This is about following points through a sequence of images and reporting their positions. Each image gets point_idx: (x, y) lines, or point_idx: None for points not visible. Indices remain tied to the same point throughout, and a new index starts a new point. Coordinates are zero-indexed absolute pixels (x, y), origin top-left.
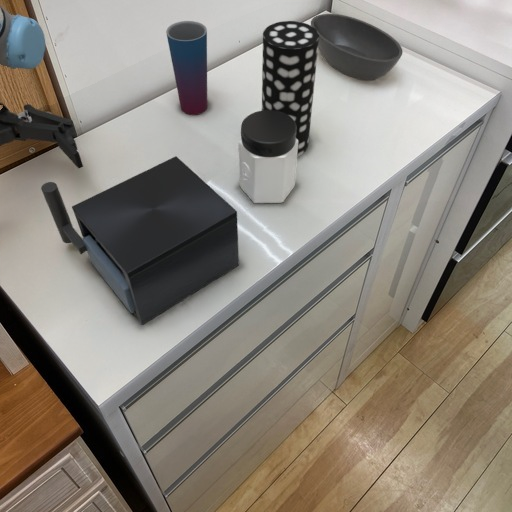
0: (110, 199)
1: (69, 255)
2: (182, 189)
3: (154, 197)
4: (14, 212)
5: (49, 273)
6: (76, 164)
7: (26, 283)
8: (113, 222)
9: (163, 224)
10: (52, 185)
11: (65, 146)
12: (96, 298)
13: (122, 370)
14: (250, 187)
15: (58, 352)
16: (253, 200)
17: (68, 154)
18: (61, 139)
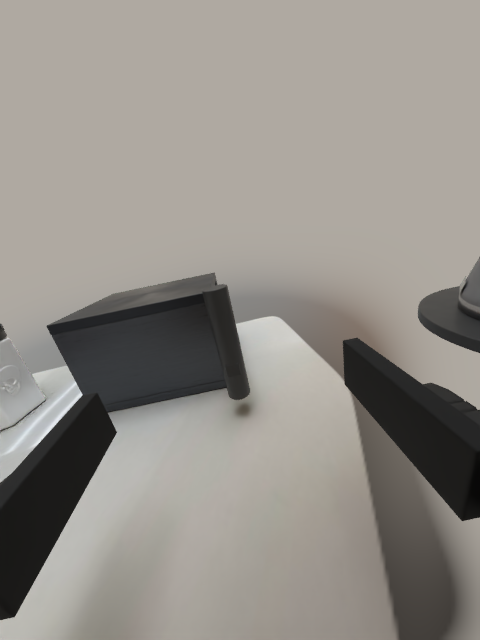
0: (168, 296)
1: (253, 400)
2: (109, 302)
3: (135, 298)
4: (351, 589)
5: (286, 385)
6: (109, 429)
7: (318, 380)
8: (189, 286)
9: (160, 287)
10: (208, 288)
11: (61, 446)
12: (249, 354)
13: (256, 322)
14: (29, 388)
15: (294, 331)
16: (43, 396)
17: (79, 467)
18: (22, 476)
